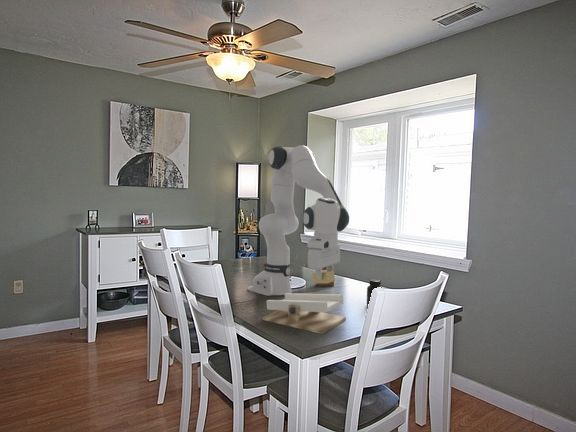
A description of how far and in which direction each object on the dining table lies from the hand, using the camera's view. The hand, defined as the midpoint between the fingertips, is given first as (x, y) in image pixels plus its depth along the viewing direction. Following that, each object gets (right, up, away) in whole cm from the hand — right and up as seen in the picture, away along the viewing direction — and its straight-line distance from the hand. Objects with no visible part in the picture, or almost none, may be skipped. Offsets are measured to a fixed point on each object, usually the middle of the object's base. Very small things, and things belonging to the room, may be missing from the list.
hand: (324, 277), depth 150 cm
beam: (-7, -11, +5) cm, 14 cm away
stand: (-7, -17, +5) cm, 19 cm away
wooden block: (+6, -14, +64) cm, 66 cm away
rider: (0, -2, 0) cm, 2 cm away
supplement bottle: (+24, -17, +26) cm, 39 cm away
